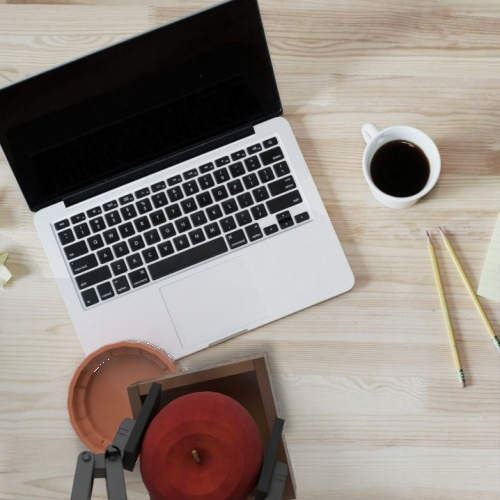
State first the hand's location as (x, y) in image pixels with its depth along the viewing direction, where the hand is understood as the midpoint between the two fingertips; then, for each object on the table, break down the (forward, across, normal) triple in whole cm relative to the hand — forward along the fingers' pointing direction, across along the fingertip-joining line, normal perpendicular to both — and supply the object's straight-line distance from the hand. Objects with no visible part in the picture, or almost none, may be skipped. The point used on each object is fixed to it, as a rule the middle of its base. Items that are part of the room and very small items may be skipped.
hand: (216, 410), depth 58 cm
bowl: (+16, -13, -26) cm, 33 cm away
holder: (+2, 0, -6) cm, 7 cm away
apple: (0, 0, -5) cm, 5 cm away
